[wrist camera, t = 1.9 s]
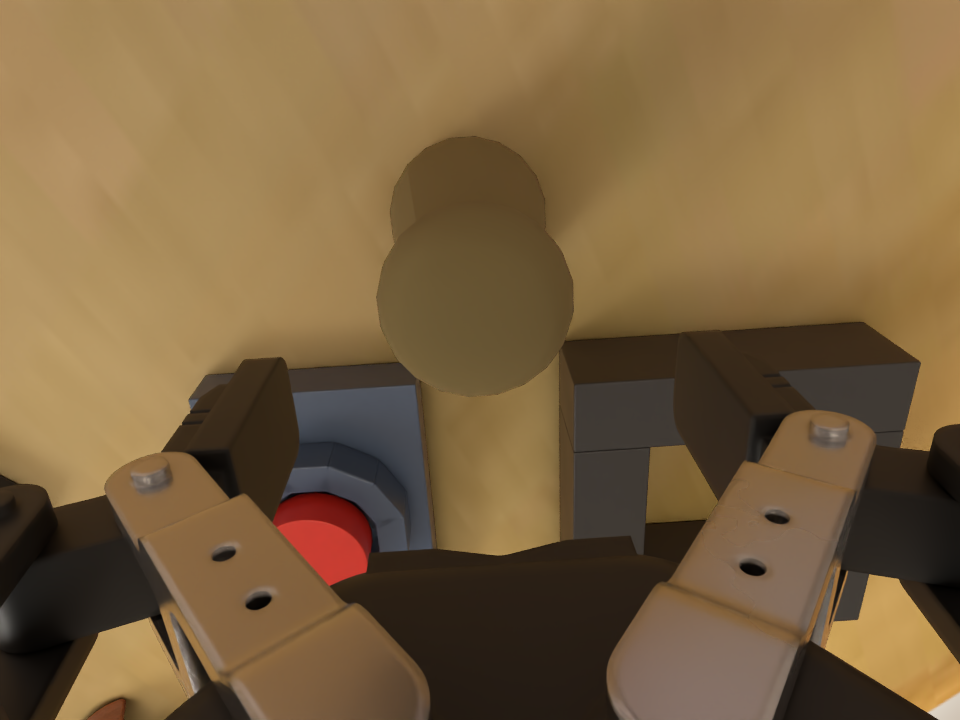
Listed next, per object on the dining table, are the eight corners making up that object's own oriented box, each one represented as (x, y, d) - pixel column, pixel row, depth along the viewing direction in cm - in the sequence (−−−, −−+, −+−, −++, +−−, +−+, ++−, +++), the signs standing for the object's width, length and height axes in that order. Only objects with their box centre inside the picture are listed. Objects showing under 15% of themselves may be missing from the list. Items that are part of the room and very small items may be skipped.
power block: (205, 374, 29) (170, 422, 26) (418, 360, 29) (413, 407, 26) (259, 590, 34) (237, 655, 31) (440, 577, 34) (438, 641, 31)
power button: (255, 496, 28) (243, 523, 26) (365, 488, 28) (360, 516, 26) (275, 580, 29) (265, 611, 28) (378, 573, 29) (374, 603, 28)
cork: (573, 242, 27) (642, 361, 17) (444, 317, 28) (439, 469, 18) (495, 103, 25) (524, 149, 15) (358, 191, 26) (301, 288, 16)
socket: (559, 341, 29) (574, 384, 25) (863, 321, 29) (921, 361, 26) (559, 577, 35) (572, 640, 31) (816, 559, 35) (858, 620, 31)
